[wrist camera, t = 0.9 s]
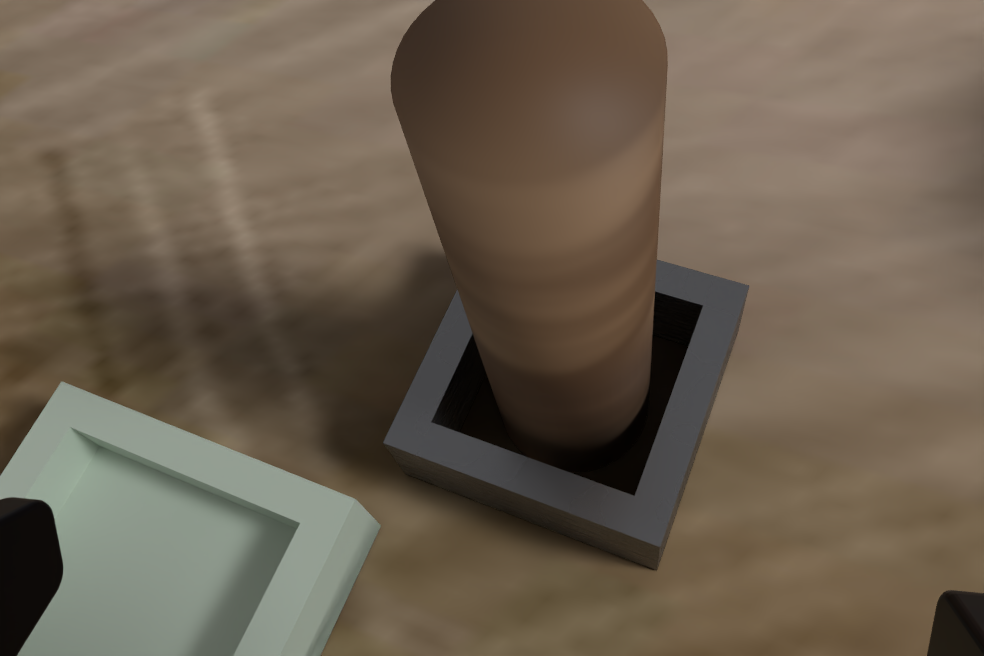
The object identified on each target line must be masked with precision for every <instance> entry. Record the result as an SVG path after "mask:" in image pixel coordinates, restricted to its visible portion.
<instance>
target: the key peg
mask: <svg viewBox="0 0 984 656" xmlns="http://www.w3.org/2000/svg"><path fill="white" fill-rule="evenodd" d="M667 67H668V61H667V47H666V42H665V37H664V35H663V32H662V30H661V27H660V24H659V23H658V21H657V19H656V18H655V16H654V14H653V13H652V11H651V10H650V9H649V8H648V7H647V5H646V4H645V3H644V2H643V1H642V0H435V1H434V2H433V3H432V4H431V5H430V6H428V7H427V8H426V9H425V10H424V11H423V12H422V13H421V14H420V15H419V16H418V17H417V19H416V20H415V21H414V22H413V23H412V25H411V26H410V27H409V29H408V30H407V32H406V33H405V35H404V36H403V39H402V41H401V43H400V45H399V47H398V49H397V52H396V55H395V58H394V61H393V66H392V72H391V93H392V99H393V104H394V107H395V109H396V112H397V115H398V118H399V121H400V124H401V127H402V130H403V133H404V136H405V138H406V141H407V144H408V147H409V150H410V153H411V156H412V159H413V162H414V165H415V168H416V170H417V173H418V176H419V179H420V182H421V185H422V188H423V191H424V194H425V197H426V199H427V202H428V205H429V208H430V211H431V214H432V217H433V220H434V223H435V226H436V228H437V231H438V234H439V237H440V240H441V243H442V246H443V249H444V252H445V255H446V258H447V260H448V263H449V266H450V269H451V272H452V275H453V278H454V281H455V284H456V287H457V289H458V292H459V295H460V298H461V301H462V304H463V307H464V310H465V313H466V316H467V318H468V321H469V324H470V327H471V330H472V333H473V336H474V339H475V342H476V345H477V348H478V350H479V353H480V356H481V359H482V362H483V365H484V368H485V371H486V374H487V377H488V379H489V382H490V385H491V388H492V391H493V394H494V397H495V400H496V403H497V406H498V408H499V411H500V414H501V417H502V420H503V423H504V426H505V429H506V431H507V433H508V435H509V437H510V439H511V440H512V441H513V443H514V444H515V446H516V447H517V448H518V449H519V450H520V451H521V452H522V453H523V454H524V455H525V456H527V457H528V458H531V459H534V460H537V461H539V462H542V463H545V464H548V465H551V466H553V467H556V468H559V469H562V470H564V471H567V472H586V471H591V470H595V469H598V468H601V467H604V466H606V465H608V464H610V463H612V462H614V461H616V460H617V459H618V458H620V457H621V456H623V455H624V454H625V453H626V452H627V451H628V450H629V449H630V448H631V447H632V446H633V444H634V443H635V442H636V441H637V439H638V437H639V436H640V434H641V432H642V430H643V428H644V425H645V422H646V419H647V414H648V405H649V388H650V370H651V352H652V334H653V316H654V299H655V281H656V263H657V245H658V227H659V210H660V192H661V174H662V156H663V138H664V121H665V103H666V85H667Z"/></svg>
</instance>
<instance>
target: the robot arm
mask: <svg viewBox="0 0 984 656" xmlns="http://www.w3.org/2000/svg"><path fill="white" fill-rule="evenodd" d="M62 577H63V560H62V555H61V549H60V544H59V539H58V534H57V529H56V524H55V519H54V514H53V511H52V509H51V508H50V506H49V505H48V504H47V503H46V502H44V501H42V500H37V499H27V498H17V497H9V498H4V499H1V500H0V656H17V655H18V653H19V652H20V650H21V648H22V647H23V645H24V644H25V642H26V640H27V639H28V637H29V636H30V634H31V632H32V631H33V629H34V628H35V626H36V624H37V623H38V621H39V620H40V618H41V616H42V615H43V613H44V612H45V610H46V608H47V607H48V605H49V604H50V602H51V600H52V599H53V597H54V596H55V594H56V592H57V591H58V589H59V587H60V584H61V581H62ZM927 656H984V593H975V592H965V591H954V590H948V591H946V592H944V593H943V594H942V595H941V596H940V598H939V600H938V602H937V606H936V611H935V616H934V622H933V627H932V632H931V637H930V643H929V648H928V653H927Z"/></svg>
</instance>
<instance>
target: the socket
mask: <svg viewBox="0 0 984 656" xmlns="http://www.w3.org/2000/svg"><path fill="white" fill-rule="evenodd" d="M748 289H749V285H745V284H741V283H738V282H734V281H731V280H727V279H724V278H720V277H717V276H713V275H710V274H706V273H702V272H699V271H695V270H692V269H688V268H685V267H681V266H678V265H674V264H671V263H667V262H664V261H660V260H657V263H656V281H655V299H654V316H653V334H652V335H655V336H658V337H662V338H665V339H668V340H671V341H675V342H678V343H681V344H684V345H688V349H687V352H686V355H685V358H684V360H683V363H682V366H681V369H680V371H679V374H678V377H677V380H676V382H675V385H674V388H673V391H672V394H671V396H670V399H669V402H668V405H667V407H666V410H665V413H664V416H663V419H662V421H661V424H660V427H659V430H658V432H657V435H656V438H655V441H654V444H653V446H652V449H651V452H650V455H649V457H648V460H647V463H646V466H645V469H644V471H643V474H642V477H641V480H640V482H639V485H638V488H637V491H636V493H635V496H633V495H631V494H628V493H625V492H622V491H619V490H617V489H614V488H611V487H608V486H606V485H603V484H600V483H597V482H595V481H592V480H589V479H586V478H584V477H581V476H578V475H575V474H573V473H570V472H567V471H564V470H562V469H559V468H556V467H553V466H551V465H548V464H545V463H542V462H539V461H537V460H534V459H531V458H528V457H526V456H523V455H520V454H517V453H515V452H512V451H509V450H506V449H504V448H501V447H498V446H495V445H493V444H490V443H487V442H484V441H482V440H479V439H476V438H473V437H471V436H468V435H465V434H462V433H460V430H461V427H462V425H463V423H464V421H465V418H466V416H467V414H468V412H469V410H470V407H471V405H472V403H473V401H474V399H475V396H476V394H477V392H478V390H479V387H480V385H481V383H482V381H483V379H484V376H485V374H486V371H485V368H484V365H483V362H482V359H481V356H480V353H479V350H478V348H477V345H476V342H475V339H474V336H473V333H472V330H471V327H470V324H469V321H468V318H467V316H466V313H465V310H464V307H463V304H462V301H461V298H460V295H459V292H458V289H457V291H456V293H455V295H454V297H453V299H452V301H451V303H450V305H449V307H448V309H447V312H446V314H445V316H444V318H443V320H442V322H441V324H440V326H439V328H438V330H437V332H436V334H435V336H434V338H433V340H432V342H431V345H430V347H429V349H428V351H427V353H426V355H425V357H424V359H423V361H422V363H421V365H420V367H419V369H418V371H417V373H416V376H415V378H414V380H413V382H412V384H411V386H410V388H409V390H408V392H407V394H406V396H405V398H404V400H403V402H402V404H401V406H400V409H399V411H398V413H397V415H396V417H395V419H394V421H393V423H392V425H391V427H390V429H389V431H388V433H387V435H386V437H385V440H384V442H383V444H384V445H385V447H386V448H387V449H388V451H389V452H390V453H391V455H392V456H393V458H394V459H395V460H396V462H397V463H398V465H399V466H400V467H401V469H402V470H403V472H404V473H405V474H407V475H409V476H412V477H414V478H417V479H420V480H422V481H425V482H427V483H430V484H433V485H435V486H438V487H440V488H443V489H446V490H448V491H451V492H453V493H456V494H459V495H461V496H464V497H466V498H469V499H472V500H474V501H477V502H479V503H482V504H485V505H487V506H490V507H492V508H495V509H498V510H500V511H503V512H505V513H508V514H511V515H513V516H516V517H518V518H521V519H524V520H526V521H529V522H531V523H534V524H537V525H539V526H542V527H544V528H547V529H550V530H552V531H555V532H557V533H560V534H563V535H565V536H568V537H571V538H573V539H576V540H578V541H581V542H584V543H586V544H589V545H591V546H594V547H597V548H599V549H602V550H604V551H607V552H610V553H612V554H615V555H617V556H620V557H623V558H625V559H628V560H630V561H633V562H636V563H638V564H641V565H643V566H646V567H649V568H651V569H654V570H656V571H657V569H658V566H659V563H660V560H661V557H662V554H663V551H664V548H665V545H666V542H667V539H668V536H669V533H670V530H671V527H672V525H673V522H674V519H675V516H676V513H677V510H678V507H679V504H680V501H681V498H682V495H683V492H684V489H685V486H686V483H687V480H688V477H689V474H690V471H691V469H692V466H693V463H694V460H695V457H696V454H697V451H698V448H699V445H700V442H701V439H702V436H703V433H704V430H705V427H706V424H707V421H708V418H709V415H710V412H711V410H712V407H713V404H714V401H715V398H716V395H717V392H718V389H719V386H720V383H721V380H722V377H723V374H724V371H725V368H726V365H727V362H728V359H729V356H730V353H731V351H732V348H733V345H734V342H735V339H736V336H737V333H738V330H739V326H740V322H741V318H742V314H743V309H744V305H745V301H746V297H747V293H748Z"/></svg>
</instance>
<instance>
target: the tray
mask: <svg viewBox="0 0 984 656" xmlns="http://www.w3.org/2000/svg"><path fill="white" fill-rule="evenodd" d="M9 497H17V498H27V499H37V500H42V501H44V502H46V503H47V504H48V505H49V506H50V508H51V509H52V511H53V514H54V519H55V524H56V529H57V534H58V539H59V544H60V549H61V555H62V560H63V577H62V581H61V584H60V587H59V589H58V591H57V592H56V594H55V596H54V597H53V599H52V600H51V602H50V604H49V605H48V607H47V608H46V610H45V612H44V613H43V615H42V616H41V618H40V620H39V621H38V623H37V624H36V626H35V628H34V629H33V631H32V632H31V634H30V636H29V637H28V639H27V640H26V642H25V644H24V645H23V647H22V648H21V650H20V652H19V653H18V655H17V656H320V655H321V653H322V651H323V649H324V647H325V645H326V642H327V640H328V638H329V636H330V634H331V632H332V630H333V627H334V625H335V623H336V621H337V619H338V617H339V615H340V612H341V610H342V608H343V606H344V604H345V602H346V600H347V597H348V595H349V593H350V591H351V589H352V587H353V585H354V582H355V580H356V578H357V576H358V574H359V572H360V570H361V568H362V565H363V563H364V561H365V559H366V557H367V555H368V553H369V550H370V548H371V546H372V544H373V542H374V540H375V538H376V535H377V533H378V531H379V529H380V527H381V525H380V524H379V523H378V522H377V521H376V520H375V519H374V518H373V517H372V516H371V515H370V514H369V513H368V512H367V511H366V509H365V508H364V507H363V506H362V505H361V504H360V503H359V502H358V501H357V500H356V499H354V498H351V497H349V496H346V495H344V494H341V493H339V492H336V491H334V490H331V489H329V488H326V487H324V486H322V485H319V484H317V483H314V482H312V481H309V480H307V479H304V478H302V477H299V476H297V475H294V474H292V473H289V472H287V471H284V470H282V469H279V468H277V467H274V466H272V465H269V464H267V463H264V462H262V461H259V460H257V459H254V458H252V457H249V456H247V455H244V454H242V453H239V452H237V451H234V450H232V449H229V448H227V447H224V446H222V445H219V444H217V443H214V442H212V441H209V440H207V439H204V438H202V437H199V436H197V435H194V434H192V433H189V432H187V431H184V430H182V429H179V428H177V427H174V426H172V425H169V424H167V423H164V422H162V421H159V420H157V419H154V418H152V417H149V416H147V415H144V414H142V413H139V412H137V411H134V410H132V409H129V408H127V407H124V406H122V405H119V404H117V403H114V402H112V401H109V400H107V399H104V398H102V397H99V396H97V395H94V394H92V393H89V392H87V391H84V390H82V389H79V388H77V387H74V386H72V385H69V384H67V383H64V382H61V383H60V385H59V386H58V388H57V389H56V391H55V392H54V394H53V396H52V397H51V399H50V400H49V402H48V403H47V405H46V406H45V408H44V409H43V411H42V412H41V414H40V416H39V417H38V419H37V420H36V422H35V423H34V425H33V426H32V428H31V429H30V431H29V433H28V434H27V436H26V437H25V439H24V440H23V442H22V443H21V445H20V446H19V448H18V449H17V451H16V453H15V454H14V456H13V457H12V459H11V460H10V462H9V463H8V465H7V466H6V468H5V469H4V471H3V473H2V474H1V476H0V500H1V499H4V498H9Z"/></svg>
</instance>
